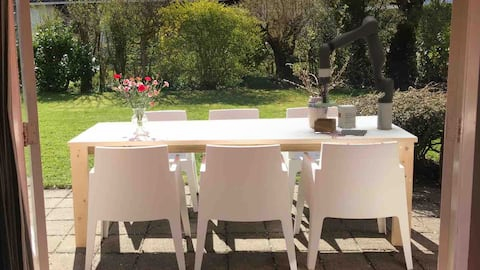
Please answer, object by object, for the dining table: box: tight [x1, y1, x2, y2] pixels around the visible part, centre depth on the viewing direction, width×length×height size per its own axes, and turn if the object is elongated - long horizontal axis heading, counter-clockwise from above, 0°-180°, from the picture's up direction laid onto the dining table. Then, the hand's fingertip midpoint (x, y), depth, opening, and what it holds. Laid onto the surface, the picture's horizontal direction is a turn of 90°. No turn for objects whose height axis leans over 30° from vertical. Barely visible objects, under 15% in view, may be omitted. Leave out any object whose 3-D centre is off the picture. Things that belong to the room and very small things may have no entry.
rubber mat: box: [340, 128, 368, 137], centre depth 323 cm, size 18×16×1 cm
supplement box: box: [337, 104, 357, 129], centre depth 345 cm, size 9×9×15 cm
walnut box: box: [313, 117, 337, 134], centre depth 330 cm, size 12×12×8 cm
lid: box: [314, 95, 337, 108], centre depth 328 cm, size 12×12×6 cm
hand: (325, 102), depth 328 cm, fingers closed on lid, 2 cm apart
